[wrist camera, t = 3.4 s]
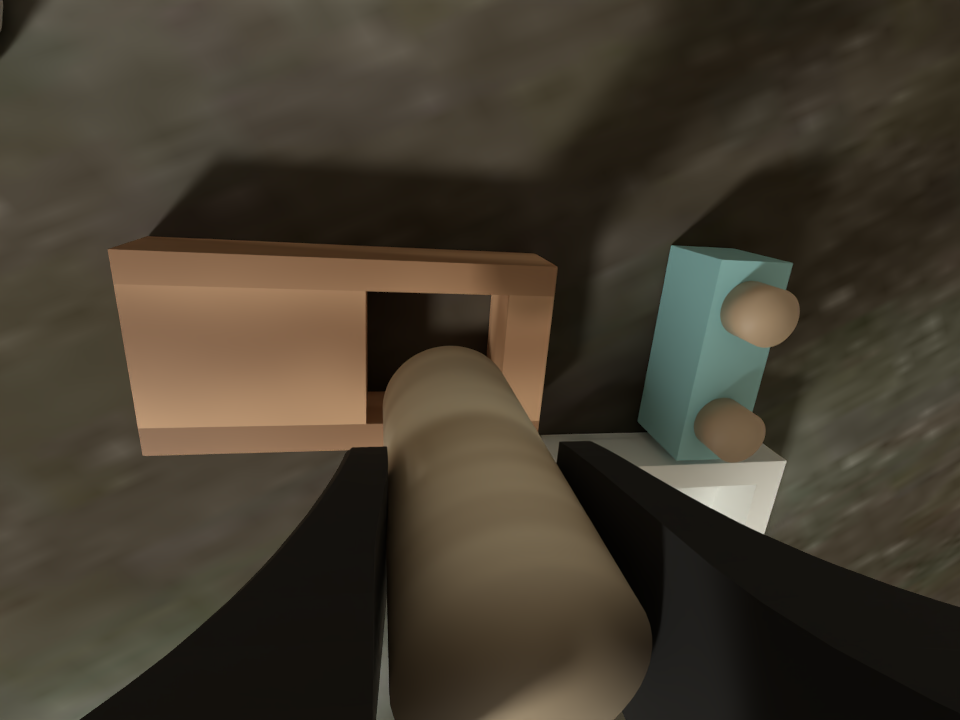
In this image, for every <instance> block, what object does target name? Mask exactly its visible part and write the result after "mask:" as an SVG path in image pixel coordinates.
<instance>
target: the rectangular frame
mask: <svg viewBox="0 0 960 720" xmlns="http://www.w3.org/2000/svg"><path fill="white" fill-rule="evenodd" d="M108 254H109V260H110V266H111V271H112V277H113V283H114V289H115V295H116V301H117V307H118V313H119V319H120V324H121V330H122V336H123V342H124V348H125V354H126V360H127V366H128V372H129V377H130V383H131V389H132V395H133V401H134V407H135V413H136V419H137V424H138V430H139V436H140V442H141V448H142V454H143V456H156V455H191V454H226V453H262V452H297V451H333V450H350V449H351V448H352V447H383V446H384V440H383V399H384V395H385V391H377V392H368V345H367V291H375V292H410V293H446V294H481V295H491V306H490V319H489V332H488V344H487V357H488V358H489V359H491V360H492V361H493V362H494V363H495V364H496V365H497V366H498V368H499V369H500V370H501V372H502V373H503V375H504V377H505V378H506V380H507V382H508V383H509V385H510V387H511V388H512V390H513V392H514V393H515V395H516V397H517V398H518V400H519V402H520V403H521V405H522V407H523V408H524V410H525V412H526V413H527V415H528V417H529V418H530V420H531V422H532V423H533V425H534V427H535V428H536V430H537V432H538V427H539V419H540V411H541V402H542V394H543V386H544V377H545V369H546V361H547V353H548V344H549V336H550V328H551V320H552V311H553V303H554V295H555V287H556V278H557V270H558V267H557V266H555V265H554V264H552V263H550V262H549V261H547V260H545V259H543V258H542V257H540V256H538V255H537V254H535V253H514V252H492V251H469V250H447V249H424V248H401V247H379V246H356V245H334V244H311V243H289V242H266V241H244V240H221V239H198V238H176V237H153V236H147V237H144V238H141V239H137V240H134V241H131V242H128V243H125V244H122V245H119V246H116V247H113V248H110V249H108Z"/></svg>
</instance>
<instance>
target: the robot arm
mask: <svg viewBox="0 0 960 720" xmlns="http://www.w3.org/2000/svg"><path fill="white" fill-rule="evenodd" d="M556 464H557V465H558V467H559V469H560V470H561V472H562V474H563V475H564V477H565V479H566V480H567V482H568V484H569V485H570V487H571V489H572V490H573V492H574V494H575V495H576V497H577V499H578V500H579V502H580V504H581V505H582V507H583V509H584V510H585V512H586V514H587V515H588V517H589V519H590V520H591V522H592V524H593V525H594V527H595V529H596V530H597V532H598V534H599V535H600V537H601V539H602V541H603V542H604V544H605V546H606V547H607V549H608V551H609V552H610V554H611V556H612V557H613V559H614V561H615V562H616V564H617V566H618V567H619V569H620V571H621V572H622V574H623V576H624V577H625V579H626V581H627V582H628V584H629V586H630V587H631V589H632V591H633V592H634V594H635V596H636V597H637V599H638V601H639V602H640V604H641V606H642V607H643V609H644V611H645V612H646V615H647V618H648V620H649V623H650V627H651V633H652V653H651V659H650V663H649V666H648V669H647V673H646V675H645V677H644V679H643V681H642V683H641V686H640V687H639V689H638V690H637V692H636V694H635V695H634V697H633V698H632V699H631V701H630V702H629V703H628V704H627V706H626V707H625V708H624V709H623V710H622V712H623V714H624V717H625V719H626V720H960V607H957V606H954V605H951V604H947V603H944V602H941V601H937V600H934V599H931V598H928V597H925V596H922V595H919V594H916V593H913V592H910V591H907V590H904V589H901V588H898V587H895V586H892V585H889V584H886V583H884V582H881V581H878V580H875V579H873V578H870V577H867V576H864V575H862V574H859V573H856V572H854V571H851V570H848V569H845V568H843V567H840V566H837V565H835V564H832V563H830V562H827V561H825V560H822V559H820V558H817V557H815V556H812V555H810V554H807V553H805V552H803V551H800V550H798V549H796V548H794V547H791V546H789V545H787V544H784V543H782V542H780V541H778V540H775V539H773V538H771V537H769V536H766V535H764V534H762V533H760V532H758V531H755V530H753V529H751V528H749V527H747V526H745V525H743V524H741V523H739V522H737V521H735V520H733V519H731V518H729V517H727V516H725V515H723V514H721V513H720V512H718V511H716V510H714V509H712V508H710V507H708V506H706V505H704V504H702V503H700V502H699V501H697V500H695V499H693V498H691V497H690V496H688V495H686V494H684V493H682V492H681V491H679V490H677V489H675V488H674V487H672V486H670V485H668V484H667V483H665V482H663V481H661V480H660V479H658V478H656V477H655V476H653V475H651V474H649V473H648V472H646V471H644V470H643V469H641V468H639V467H638V466H636V465H634V464H632V463H631V462H629V461H627V460H626V459H624V458H622V457H620V456H619V455H617V454H615V453H613V452H612V451H610V450H608V449H606V448H604V447H602V446H600V445H598V444H596V443H594V442H592V441H561V442H559V448H558V455H557V462H556ZM387 518H388V452H387V446H383V447H352V448H351V449H350V450H349V451H348V452H346V453H345V456H344V458H343V460H342V462H341V464H340V466H339V468H338V469H337V471H336V473H335V474H334V476H333V478H332V479H331V481H330V482H329V484H328V485H327V487H326V488H325V490H324V491H323V493H322V494H321V496H320V497H319V498H318V500H317V501H316V503H315V504H314V505H313V507H312V508H311V510H310V511H309V512H308V514H307V515H306V516H305V518H304V519H303V520H302V521H301V523H300V524H299V525H298V526H297V527H296V529H295V530H294V531H293V532H292V533H291V535H290V536H289V537H288V538H287V539H286V541H285V542H284V543H283V544H282V546H281V547H280V548H279V549H278V550H277V551H276V553H275V554H274V555H273V556H272V557H271V558H270V559H269V560H268V561H267V562H266V564H265V565H264V566H263V567H262V568H261V569H260V570H259V571H258V572H257V573H256V574H255V575H254V576H253V577H252V578H251V579H250V580H249V581H248V582H247V583H246V584H245V585H244V586H243V587H242V588H241V589H240V590H239V591H238V592H237V593H236V594H235V595H234V596H233V597H232V598H231V599H230V600H229V601H228V602H227V603H226V604H224V605H223V606H222V607H221V608H220V609H219V610H218V611H217V612H216V613H214V614H213V615H212V616H211V617H210V618H209V619H208V620H207V621H206V622H204V623H203V624H202V625H201V626H200V627H199V628H198V629H197V630H196V631H194V632H193V633H192V634H191V635H190V636H189V637H187V638H186V639H185V640H184V641H183V642H182V643H180V644H179V645H178V646H177V647H176V648H175V649H173V650H172V651H171V652H170V653H168V654H167V655H166V656H165V657H163V658H162V659H161V660H160V661H158V662H157V663H156V664H154V665H153V666H152V667H150V668H149V669H148V670H147V671H145V672H144V673H143V674H141V675H140V676H139V677H137V678H136V679H135V680H134V681H132V682H131V683H130V684H128V685H127V686H126V687H124V688H123V689H121V690H120V691H119V692H117V693H116V694H115V695H113V696H112V697H110V698H109V699H108V700H106V701H105V702H104V703H102V704H101V705H99V706H98V707H97V708H95V709H94V710H92V711H91V712H90V713H88V714H87V715H86V716H84V717H83V718H81V719H80V720H376V714H377V702H378V690H379V679H380V667H381V655H382V644H383V632H384V620H385V608H386V596H387V571H386V533H387Z"/></svg>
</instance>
